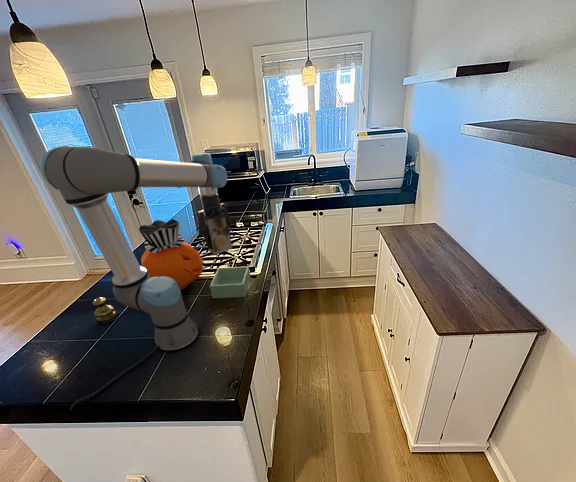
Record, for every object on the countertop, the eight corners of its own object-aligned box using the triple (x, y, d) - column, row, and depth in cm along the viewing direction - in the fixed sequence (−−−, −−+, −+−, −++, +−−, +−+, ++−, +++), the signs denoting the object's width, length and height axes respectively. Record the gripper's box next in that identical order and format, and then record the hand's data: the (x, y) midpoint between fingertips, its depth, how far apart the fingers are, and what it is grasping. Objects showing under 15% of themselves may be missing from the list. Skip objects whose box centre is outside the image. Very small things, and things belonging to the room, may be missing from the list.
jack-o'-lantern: (211, 290, 143) (195, 226, 126) (151, 305, 136) (125, 241, 119) (202, 266, 164) (187, 209, 148) (149, 278, 157) (127, 220, 141)
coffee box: (225, 245, 149) (219, 211, 140) (232, 248, 144) (226, 214, 135) (208, 251, 144) (200, 216, 135) (215, 255, 140) (207, 219, 131)
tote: (245, 296, 136) (243, 284, 133) (212, 298, 137) (209, 286, 134) (250, 278, 150) (248, 266, 146) (220, 279, 151) (218, 268, 147)
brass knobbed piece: (121, 314, 132) (112, 294, 127) (108, 325, 126) (98, 304, 121) (107, 312, 134) (97, 293, 129) (94, 323, 128) (83, 303, 123)
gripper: (192, 202, 121) (205, 255, 134) (234, 188, 135) (242, 238, 147) (181, 200, 126) (194, 251, 138) (223, 187, 139) (231, 235, 152)
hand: (219, 244), depth 143 cm, fingers closed on coffee box, 9 cm apart
